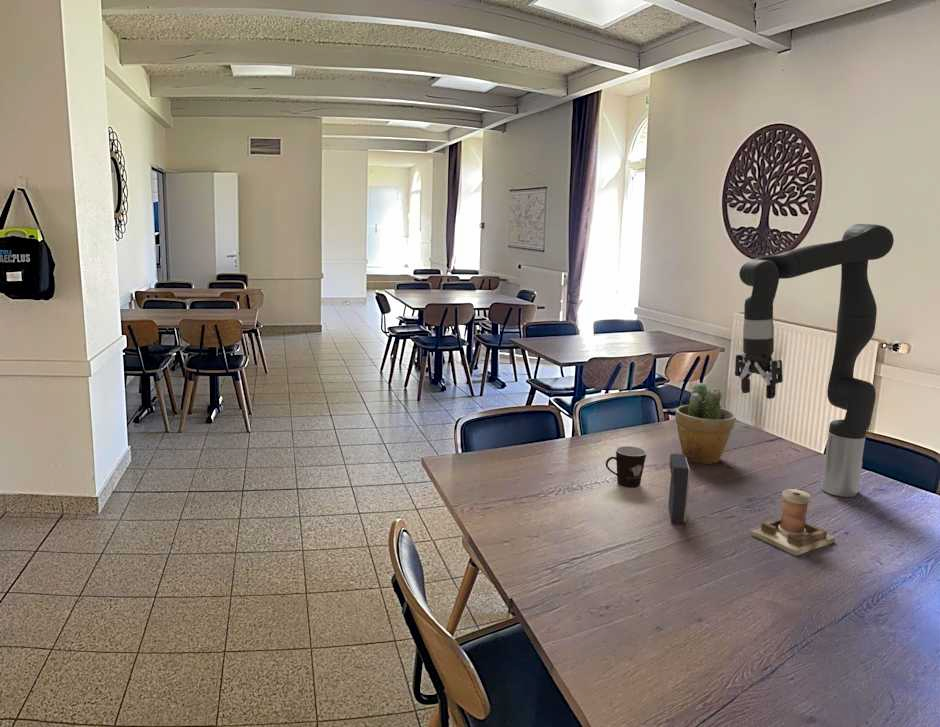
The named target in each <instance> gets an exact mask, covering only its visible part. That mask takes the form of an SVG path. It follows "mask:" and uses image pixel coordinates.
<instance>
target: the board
mask: <svg viewBox="0 0 940 727" xmlns="http://www.w3.org/2000/svg"><path fill="white" fill-rule="evenodd" d="M780 522H781V516H780V517H777V518H774V519H771V520H767V521H765V522H761V527H759V528H756V529H753V530H751V536H752V537H755V538H756V539H759V540H760V541H763V542H765V543H767V544H770V545H772V546H773V547H775V546H776V547H775V548H777V549H780V550H782V551H784V552H787V553H788V554H790V555H793V556H794V557H796V556H799V555H803V554H805V553H807V552H811V551H813V550H816V549H819V548H821V547H822V548H823V547H824V546H828V545H831V544H833V543H836V542H835V540H836V537H835V536H833V535H830V534H829V533H828V531H827V530H826V529H823V528H821V527H818V526H816V525H814V524H811V523H808V522H806V521H805V529H806V535H804V536H801V537H797V536H795V535H793V534H789V535H788V537H787V536H784V535H782V534H781V533H779V532H778V525H779V524H780Z"/></svg>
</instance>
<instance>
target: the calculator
mask: <svg viewBox="0 0 940 727" xmlns="http://www.w3.org/2000/svg"><path fill="white" fill-rule="evenodd" d="M688 462H689V461H688V460H687V459H686V457H685V455H683V454H678V453H671V454H670V459H669V470H670V482H669V484H670V485H669V496H668V505H667V506H668V511H669V518H670V522H671V524H677V525H684V523H686V522H687V513H688V502H689V494H690V485H689V483H690V482H689V481H690V472H691V471H690V470H691V469H690V466H689V463H688Z"/></svg>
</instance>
